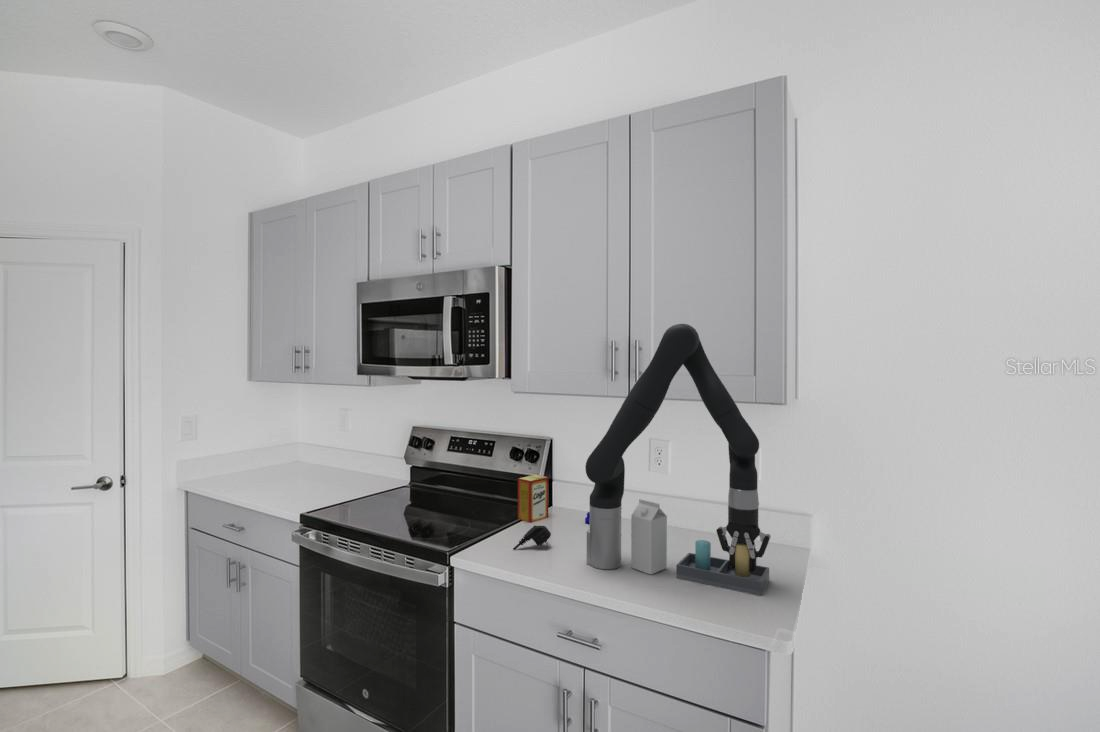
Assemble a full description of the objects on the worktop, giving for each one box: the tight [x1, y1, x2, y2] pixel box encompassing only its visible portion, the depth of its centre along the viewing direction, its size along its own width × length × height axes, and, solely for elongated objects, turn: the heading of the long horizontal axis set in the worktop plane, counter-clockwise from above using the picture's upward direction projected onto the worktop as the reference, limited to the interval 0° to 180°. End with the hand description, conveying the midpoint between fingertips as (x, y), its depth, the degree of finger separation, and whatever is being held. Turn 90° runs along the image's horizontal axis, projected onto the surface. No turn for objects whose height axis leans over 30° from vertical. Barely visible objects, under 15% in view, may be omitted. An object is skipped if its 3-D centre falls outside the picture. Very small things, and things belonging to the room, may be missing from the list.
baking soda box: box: [517, 474, 549, 524], centre depth 203 cm, size 10×6×16 cm
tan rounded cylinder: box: [735, 543, 751, 577], centre depth 144 cm, size 4×4×8 cm
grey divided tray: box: [675, 552, 770, 597], centre depth 147 cm, size 22×11×4 cm, turn 59°
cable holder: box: [584, 511, 590, 525], centre depth 197 cm, size 8×4×4 cm, turn 62°
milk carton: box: [630, 498, 668, 575], centre depth 155 cm, size 7×7×19 cm
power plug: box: [512, 525, 552, 551], centre depth 171 cm, size 6×8×12 cm
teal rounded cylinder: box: [694, 539, 712, 571], centre depth 150 cm, size 4×4×8 cm
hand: (742, 569), depth 144 cm, fingers closed on tan rounded cylinder, 4 cm apart
